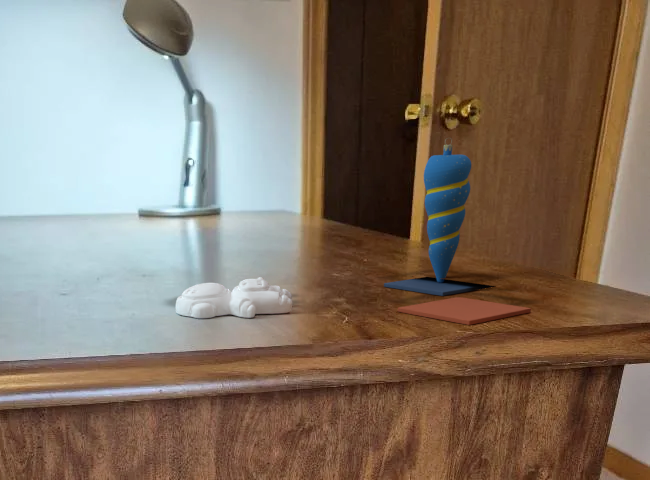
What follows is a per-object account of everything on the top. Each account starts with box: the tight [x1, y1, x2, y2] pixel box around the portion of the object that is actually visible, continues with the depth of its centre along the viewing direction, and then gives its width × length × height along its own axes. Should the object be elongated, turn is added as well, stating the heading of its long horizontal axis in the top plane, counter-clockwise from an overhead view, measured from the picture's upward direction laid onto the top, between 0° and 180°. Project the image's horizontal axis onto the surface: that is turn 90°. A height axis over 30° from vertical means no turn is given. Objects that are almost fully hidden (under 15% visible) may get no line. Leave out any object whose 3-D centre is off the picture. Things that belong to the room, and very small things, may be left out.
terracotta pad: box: [397, 296, 532, 326], centre depth 77 cm, size 9×9×1 cm
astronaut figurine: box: [175, 276, 294, 319], centre depth 80 cm, size 9×12×3 cm
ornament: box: [423, 137, 472, 283], centre depth 88 cm, size 5×5×15 cm
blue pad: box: [383, 276, 497, 297], centre depth 91 cm, size 9×9×1 cm
